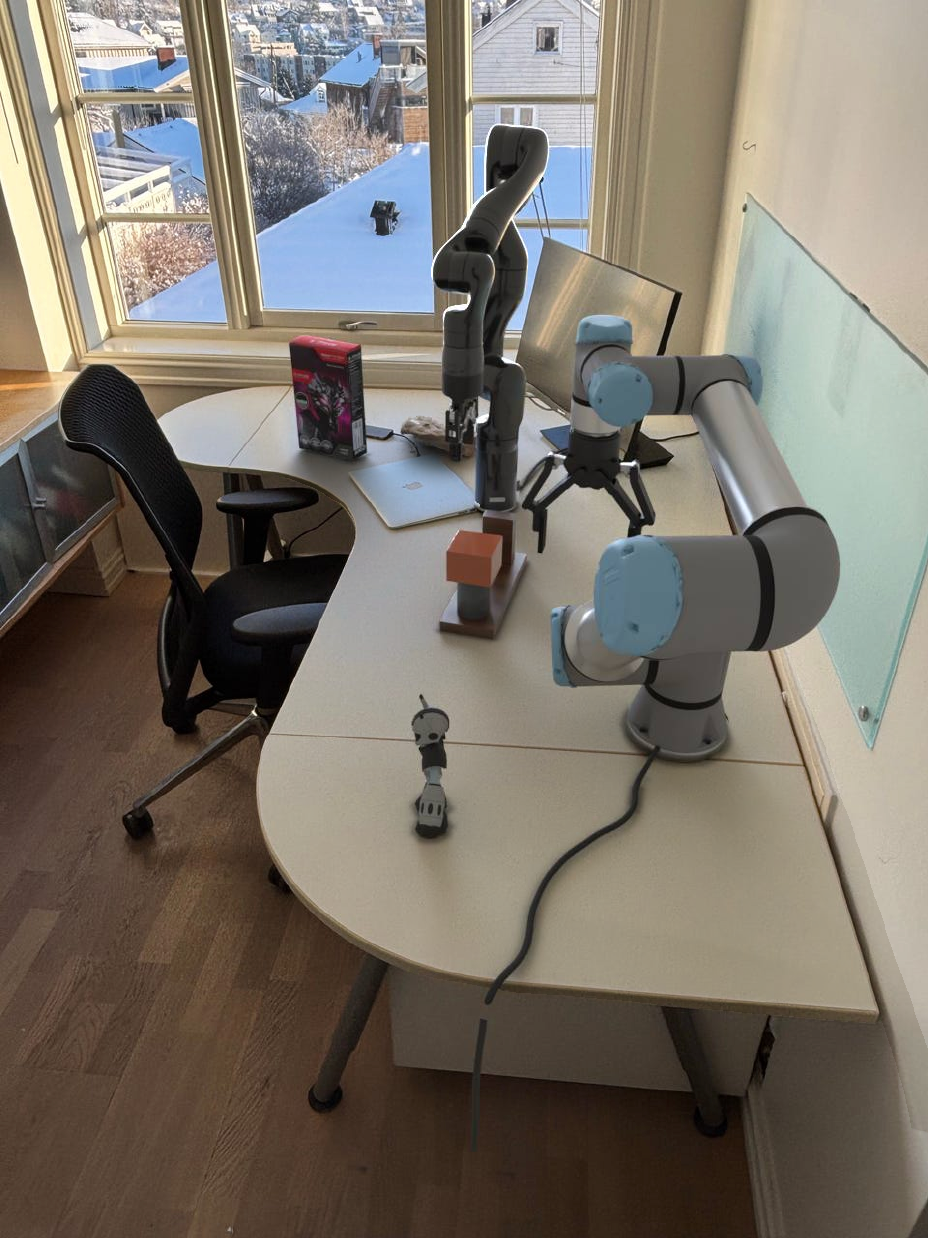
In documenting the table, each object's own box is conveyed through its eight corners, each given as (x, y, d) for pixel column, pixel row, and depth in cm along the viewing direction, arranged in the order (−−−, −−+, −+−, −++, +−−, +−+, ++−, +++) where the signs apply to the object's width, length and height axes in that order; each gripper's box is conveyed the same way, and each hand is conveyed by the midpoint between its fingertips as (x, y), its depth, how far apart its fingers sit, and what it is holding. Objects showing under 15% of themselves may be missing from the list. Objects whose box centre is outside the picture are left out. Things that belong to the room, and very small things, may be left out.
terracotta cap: (490, 587, 159) (491, 557, 155) (446, 581, 160) (446, 551, 157) (501, 564, 165) (502, 535, 162) (458, 558, 167) (458, 529, 163)
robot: (452, 871, 119) (452, 756, 108) (414, 872, 119) (410, 757, 108) (447, 767, 136) (446, 657, 124) (413, 768, 135) (410, 658, 124)
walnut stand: (493, 639, 163) (495, 581, 157) (439, 630, 165) (438, 573, 159) (526, 562, 186) (529, 508, 179) (478, 555, 188) (479, 502, 181)
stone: (384, 439, 228) (389, 416, 226) (404, 431, 242) (409, 408, 239) (464, 464, 225) (469, 440, 222) (479, 454, 238) (485, 431, 236)
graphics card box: (296, 449, 231) (285, 340, 216) (313, 439, 236) (303, 333, 221) (353, 463, 224) (346, 352, 209) (369, 453, 229) (363, 343, 214)
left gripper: (472, 382, 158) (471, 469, 167) (492, 357, 170) (490, 439, 179) (430, 378, 160) (431, 464, 169) (453, 353, 172) (453, 435, 181)
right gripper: (685, 427, 133) (666, 554, 145) (516, 409, 139) (511, 533, 150) (681, 447, 127) (661, 578, 139) (505, 427, 133) (501, 555, 144)
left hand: (461, 451), depth 174 cm, fingers open, 8 cm apart
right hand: (583, 555), depth 145 cm, fingers open, 13 cm apart
